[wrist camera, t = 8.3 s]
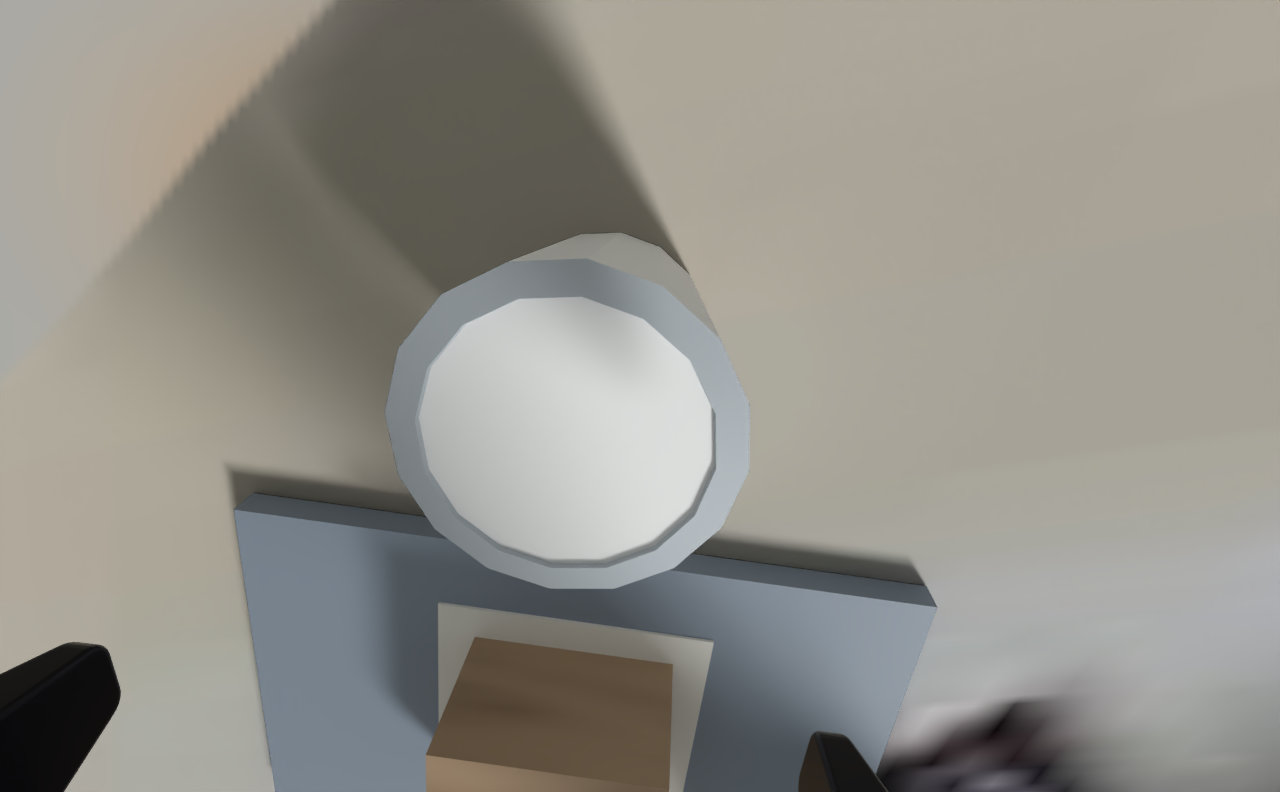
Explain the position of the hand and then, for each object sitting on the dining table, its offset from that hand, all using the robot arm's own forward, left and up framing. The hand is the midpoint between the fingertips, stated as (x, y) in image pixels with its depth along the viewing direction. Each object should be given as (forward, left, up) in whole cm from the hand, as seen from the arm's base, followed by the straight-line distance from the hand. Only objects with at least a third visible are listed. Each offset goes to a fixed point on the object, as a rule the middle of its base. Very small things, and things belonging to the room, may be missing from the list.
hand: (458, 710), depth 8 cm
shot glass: (+1, 0, -12) cm, 12 cm away
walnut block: (-12, 0, -11) cm, 16 cm away
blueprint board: (-13, 0, -12) cm, 17 cm away
